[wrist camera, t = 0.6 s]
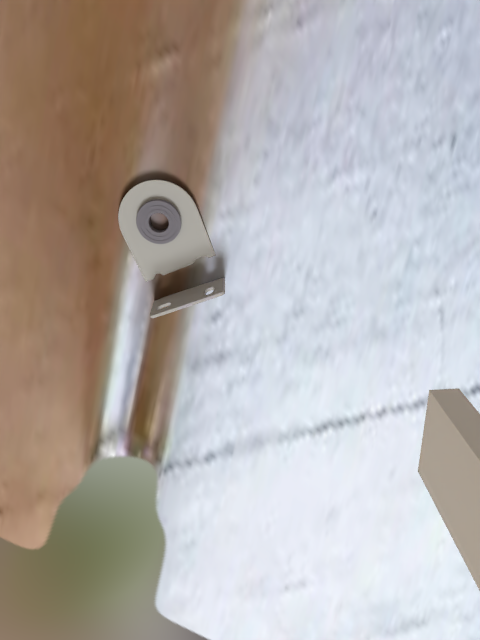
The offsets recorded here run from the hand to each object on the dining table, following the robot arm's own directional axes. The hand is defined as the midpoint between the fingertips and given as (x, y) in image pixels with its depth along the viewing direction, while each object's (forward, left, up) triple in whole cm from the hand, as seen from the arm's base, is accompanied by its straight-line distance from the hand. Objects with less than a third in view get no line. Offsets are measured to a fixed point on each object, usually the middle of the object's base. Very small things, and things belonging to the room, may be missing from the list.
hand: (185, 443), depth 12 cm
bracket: (-1, -5, -28) cm, 28 cm away
